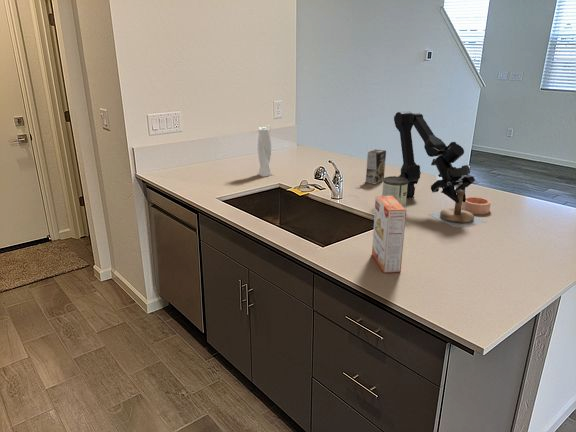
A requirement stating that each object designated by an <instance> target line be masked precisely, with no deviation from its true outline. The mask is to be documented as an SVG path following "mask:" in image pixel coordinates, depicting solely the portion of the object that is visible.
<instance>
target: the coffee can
mask: <svg viewBox="0 0 576 432" xmlns="http://www.w3.org/2000/svg"><path fill="white" fill-rule="evenodd" d="M407 186H408V179H406V178H403V177H399V176H395V175H393V176H384V178H383V181H382V194H381V196H393V197H394V198H395V199H396V200H397V201H398V202H399V203H400V204H401V205H402V206H403V207H404V208H405V209H406V206H407V198H406V197H407Z"/></svg>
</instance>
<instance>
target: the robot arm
mask: <svg viewBox="0 0 576 432" xmlns="http://www.w3.org/2000/svg"><path fill="white" fill-rule="evenodd" d="M393 121H394V127H395V128H396V130H397V131H398V132H399V138H400V145H401V152H402V155H401V156H402V162H403V163H402V166H401V167H400V175H399V176H398V177H403V178H406V179H408V186H407V197H406V199H414V198H415V191H416V187H415V185H417V184H418V182H419V181H420V178H421V175H422V173H421V165H419V164H417V163H416V161H415V154H414V145H413V139H412V129H413V127H414V128H415V130H416V131H417V133H418V135H419V136H420V137H421V139H422V141H423V142H424V149H425V150H424V151H425V152H426V155H427V157H431V158H433V157H436V158H433V159H432V161H431V164H430V166H431V167H432V166H435V167H436V169H437V171H438V173H439V174H438V175H437V176H438V178H441V179H438V180H436V181H435V182H434V183H432V185H430V190H431V192H432V193H438V192H439V190H440V189H442V190H441V191H440V193H441V194H443V195H445V196H447V197H449V198H450V199H451V200H452V201H453V202H456V203H459V199H458V197H457V193H456V190H457V189H462V190H465V191H466V188H468V187H469V186H470V185H472V184H473V183H475V182H476V179H475V177H474V176H473V175H469V173H470V172H471V169H470V167H469V164H466V165H465V164H464V165H461V167H456V166H453V163H455V162H457V160H459V159H460V158H461V157H462V156H463V155H464V154H465V149H464V148H463V147H462V146H461V144H459V143H457V142H456V141H451V142H450V143H449V144H448V145H446V143H445V142H444V141H443V140H442V139H440V138H439V137H437V135H435V134H434V132H433V130H432V129H431V127H430V126H429V125H428V123H427V122H426V120H425V119H424V115H423V114H422V113H421V112H417V113H412V112H411V111H398V112H396V113H395V114H394V116H393ZM463 176H464V177H463ZM466 197H467V196H466V193H465V194H464V195H463V202H465V201H466ZM463 202H462V203H463Z"/></svg>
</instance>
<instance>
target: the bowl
mask: <svg viewBox="0 0 576 432" xmlns="http://www.w3.org/2000/svg"><path fill="white" fill-rule="evenodd" d="M491 202H492V201H491V200H490V199H489V198H485V197H481V196H466V201H465V202H462V208H461V210H465V211H468V212H470V213H472V214H473V215H486V214H489V213H490V210H491V204H492V203H491Z"/></svg>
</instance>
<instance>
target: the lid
mask: <svg viewBox="0 0 576 432" xmlns="http://www.w3.org/2000/svg"><path fill="white" fill-rule="evenodd" d="M456 194H457V197H458V199H459V203H456V202H455V201H454V202H455V204H454V208H445V209H442V210H440V212H439V213H440V216H441V217H442V218H443V219H445V220H448V221H452V222H459V223H466V222H471V221H473V220H474V217H475V214H473V213H470V212H468V211H465V210H462V203H463V195H464V194H465V195H466V189H465V190H462V189H457V190H456Z"/></svg>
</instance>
